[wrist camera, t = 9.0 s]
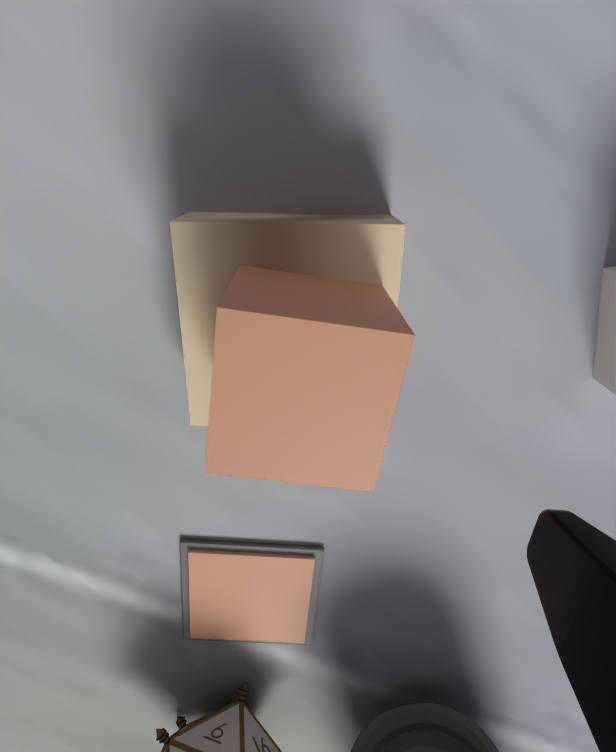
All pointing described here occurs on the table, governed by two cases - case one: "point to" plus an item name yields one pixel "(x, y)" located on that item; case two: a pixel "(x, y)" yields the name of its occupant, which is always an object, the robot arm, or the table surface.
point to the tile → (249, 591)
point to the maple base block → (270, 251)
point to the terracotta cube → (304, 379)
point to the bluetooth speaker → (423, 731)
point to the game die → (220, 731)
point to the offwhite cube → (606, 332)
